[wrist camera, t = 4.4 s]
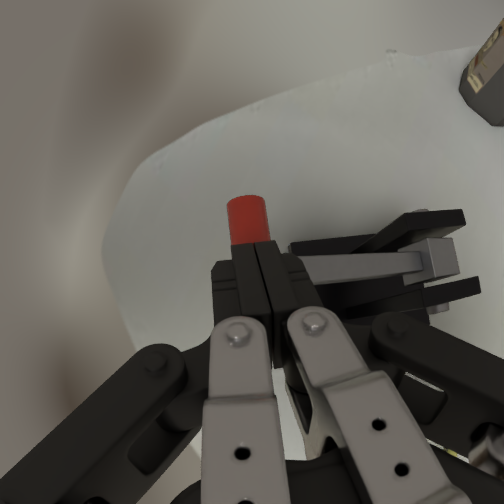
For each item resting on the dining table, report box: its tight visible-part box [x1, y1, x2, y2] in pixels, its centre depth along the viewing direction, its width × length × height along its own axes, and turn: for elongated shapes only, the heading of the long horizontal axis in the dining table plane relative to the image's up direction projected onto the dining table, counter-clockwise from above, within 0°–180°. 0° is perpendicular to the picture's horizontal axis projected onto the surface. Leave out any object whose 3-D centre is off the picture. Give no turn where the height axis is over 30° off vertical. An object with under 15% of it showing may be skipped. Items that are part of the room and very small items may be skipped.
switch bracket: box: [288, 209, 481, 326], centre depth 21 cm, size 12×9×13 cm
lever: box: [227, 195, 460, 286], centre depth 15 cm, size 13×6×2 cm, turn 96°
